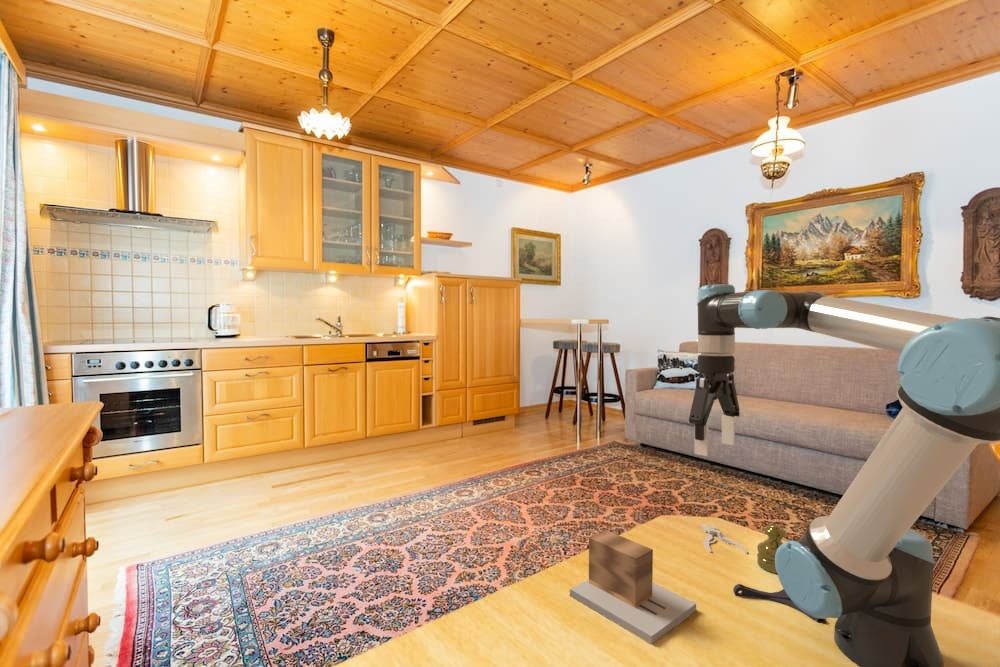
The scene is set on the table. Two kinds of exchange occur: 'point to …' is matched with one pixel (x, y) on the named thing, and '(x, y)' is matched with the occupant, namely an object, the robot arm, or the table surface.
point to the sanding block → (621, 567)
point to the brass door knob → (770, 547)
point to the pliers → (714, 532)
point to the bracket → (769, 597)
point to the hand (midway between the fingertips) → (715, 449)
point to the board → (638, 610)
